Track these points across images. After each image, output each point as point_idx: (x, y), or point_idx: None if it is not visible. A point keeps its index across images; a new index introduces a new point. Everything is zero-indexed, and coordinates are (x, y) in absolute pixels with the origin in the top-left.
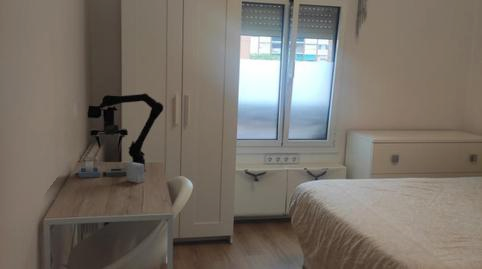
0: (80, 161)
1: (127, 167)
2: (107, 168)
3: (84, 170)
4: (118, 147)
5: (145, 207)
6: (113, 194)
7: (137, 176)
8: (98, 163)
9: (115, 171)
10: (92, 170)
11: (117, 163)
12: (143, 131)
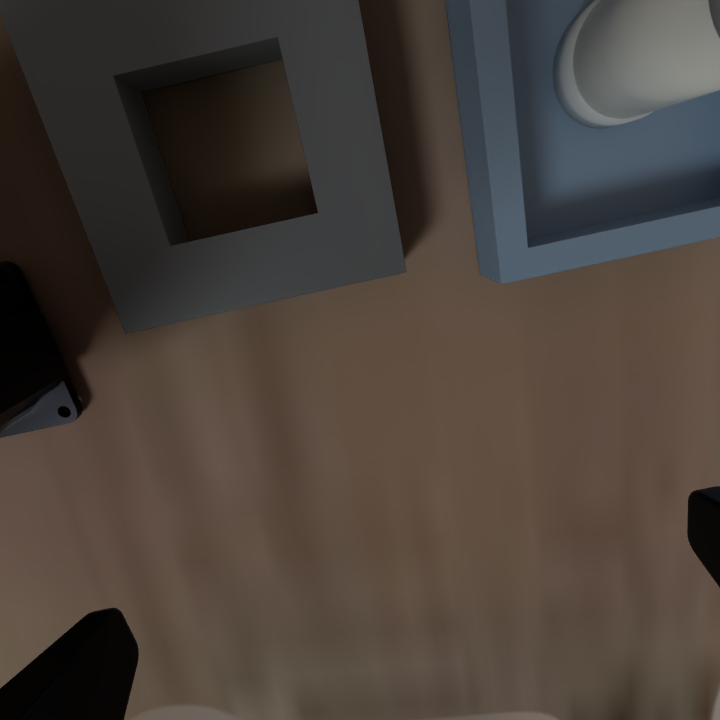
0: (700, 709)
1: None
2: (371, 243)
3: (689, 206)
4: (77, 625)
5: None
6: None
7: None
8: (523, 653)
9: (199, 9)
10: (593, 14)
11: (327, 669)
12: None
